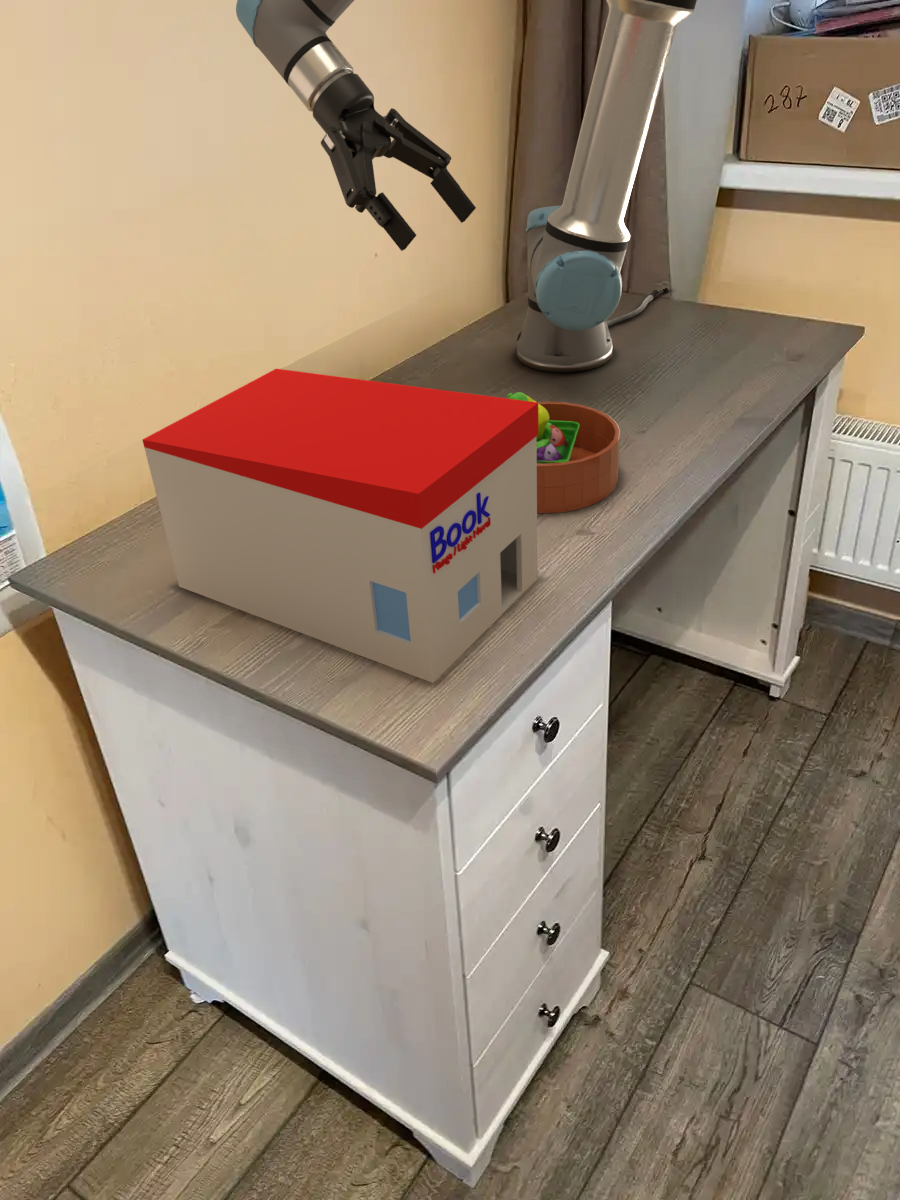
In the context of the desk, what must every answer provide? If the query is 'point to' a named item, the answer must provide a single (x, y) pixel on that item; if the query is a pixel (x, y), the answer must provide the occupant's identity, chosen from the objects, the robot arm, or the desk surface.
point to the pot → (580, 461)
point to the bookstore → (355, 511)
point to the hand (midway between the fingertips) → (440, 229)
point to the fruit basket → (551, 435)
